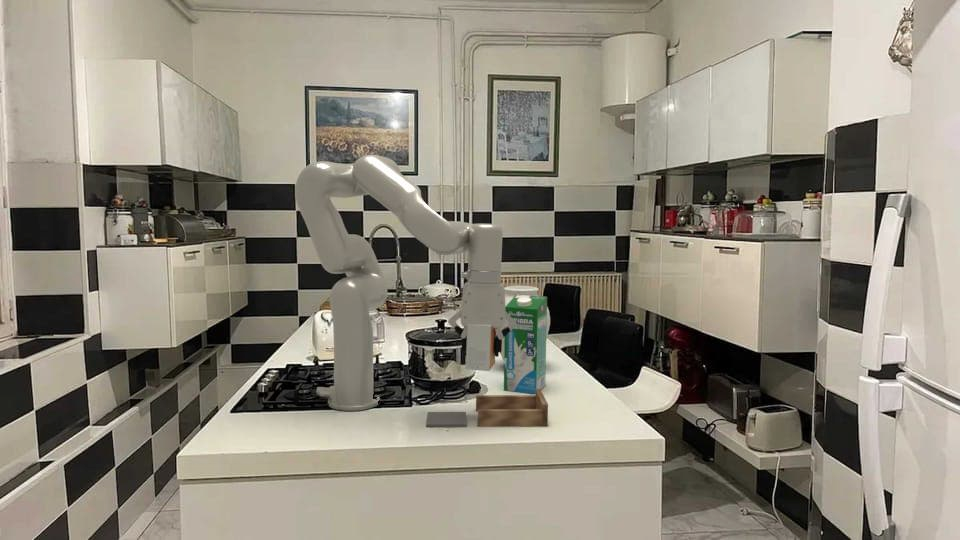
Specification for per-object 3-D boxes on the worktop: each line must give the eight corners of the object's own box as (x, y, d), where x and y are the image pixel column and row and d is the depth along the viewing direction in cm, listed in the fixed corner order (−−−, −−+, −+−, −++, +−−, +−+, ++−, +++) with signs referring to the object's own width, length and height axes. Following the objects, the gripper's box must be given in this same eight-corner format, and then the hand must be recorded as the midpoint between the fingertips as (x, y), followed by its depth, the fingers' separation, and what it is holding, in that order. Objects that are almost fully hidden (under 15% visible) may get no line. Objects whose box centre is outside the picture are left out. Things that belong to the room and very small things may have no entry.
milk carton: (503, 390, 173) (504, 298, 170) (514, 382, 181) (515, 294, 179) (535, 394, 169) (537, 300, 167) (545, 385, 178) (547, 296, 175)
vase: (559, 366, 200) (560, 286, 198) (532, 378, 185) (533, 292, 183) (509, 359, 209) (510, 282, 207) (480, 370, 194) (480, 288, 192)
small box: (489, 372, 144) (491, 325, 143) (465, 369, 145) (466, 323, 144) (495, 363, 152) (497, 319, 151) (472, 361, 153) (474, 318, 152)
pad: (426, 427, 143) (426, 424, 143) (427, 414, 152) (427, 411, 152) (466, 426, 143) (466, 424, 143) (465, 414, 152) (465, 411, 152)
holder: (477, 426, 143) (478, 404, 143) (475, 409, 156) (476, 389, 155) (547, 426, 144) (547, 404, 144) (540, 409, 156) (540, 389, 156)
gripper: (446, 278, 143) (443, 357, 144) (523, 281, 143) (520, 359, 145) (446, 274, 150) (443, 350, 152) (520, 277, 151) (516, 352, 153)
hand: (481, 354), depth 149 cm, fingers closed on small box, 6 cm apart
